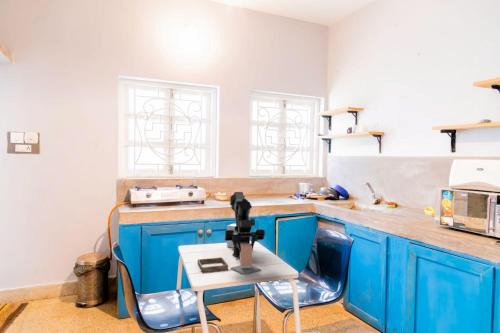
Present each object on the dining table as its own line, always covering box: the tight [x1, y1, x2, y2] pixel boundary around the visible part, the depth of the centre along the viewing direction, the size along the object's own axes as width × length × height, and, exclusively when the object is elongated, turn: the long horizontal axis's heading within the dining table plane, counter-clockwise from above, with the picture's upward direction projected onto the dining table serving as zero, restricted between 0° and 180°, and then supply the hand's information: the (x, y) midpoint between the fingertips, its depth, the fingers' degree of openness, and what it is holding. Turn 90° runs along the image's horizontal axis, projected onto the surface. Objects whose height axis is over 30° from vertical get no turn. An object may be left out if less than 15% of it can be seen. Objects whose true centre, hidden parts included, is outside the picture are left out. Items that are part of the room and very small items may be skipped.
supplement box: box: [226, 223, 236, 249], centre depth 185 cm, size 7×7×13 cm
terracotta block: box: [239, 242, 253, 266], centre depth 146 cm, size 5×5×9 cm
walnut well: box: [197, 256, 229, 273], centre depth 150 cm, size 12×12×2 cm
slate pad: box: [230, 264, 262, 276], centre depth 146 cm, size 10×10×1 cm
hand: (246, 251), depth 145 cm, fingers closed on terracotta block, 5 cm apart
